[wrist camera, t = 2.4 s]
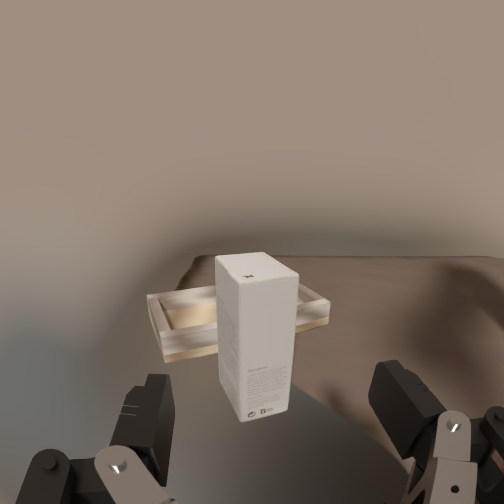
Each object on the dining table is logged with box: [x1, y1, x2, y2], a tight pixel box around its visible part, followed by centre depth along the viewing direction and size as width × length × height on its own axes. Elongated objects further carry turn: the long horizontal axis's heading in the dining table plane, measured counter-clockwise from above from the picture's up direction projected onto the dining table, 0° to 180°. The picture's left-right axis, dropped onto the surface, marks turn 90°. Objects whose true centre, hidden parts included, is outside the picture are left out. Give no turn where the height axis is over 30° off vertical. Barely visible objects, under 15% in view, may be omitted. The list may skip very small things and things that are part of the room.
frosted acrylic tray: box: [147, 283, 331, 363], centre depth 37 cm, size 20×11×3 cm, turn 115°
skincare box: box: [215, 252, 299, 422], centre depth 23 cm, size 6×4×12 cm
